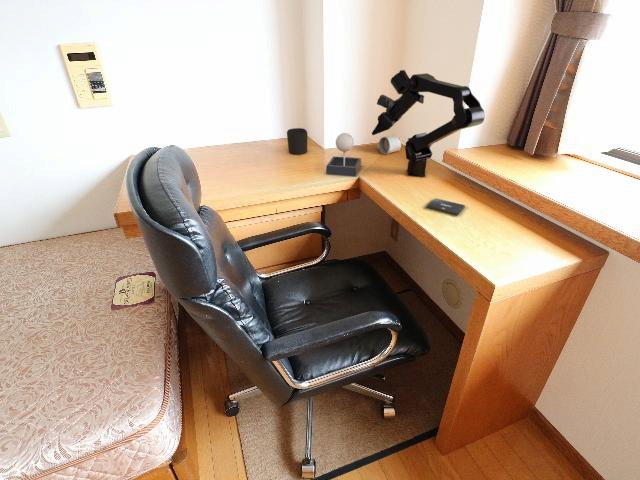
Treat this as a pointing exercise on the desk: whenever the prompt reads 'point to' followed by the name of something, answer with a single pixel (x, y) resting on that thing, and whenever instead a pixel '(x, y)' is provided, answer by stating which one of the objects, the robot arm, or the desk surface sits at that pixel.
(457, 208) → the solid state drive
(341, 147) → the lollipop
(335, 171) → the caddy
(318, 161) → the desk surface
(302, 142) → the pen holder
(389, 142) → the ceramic mug
